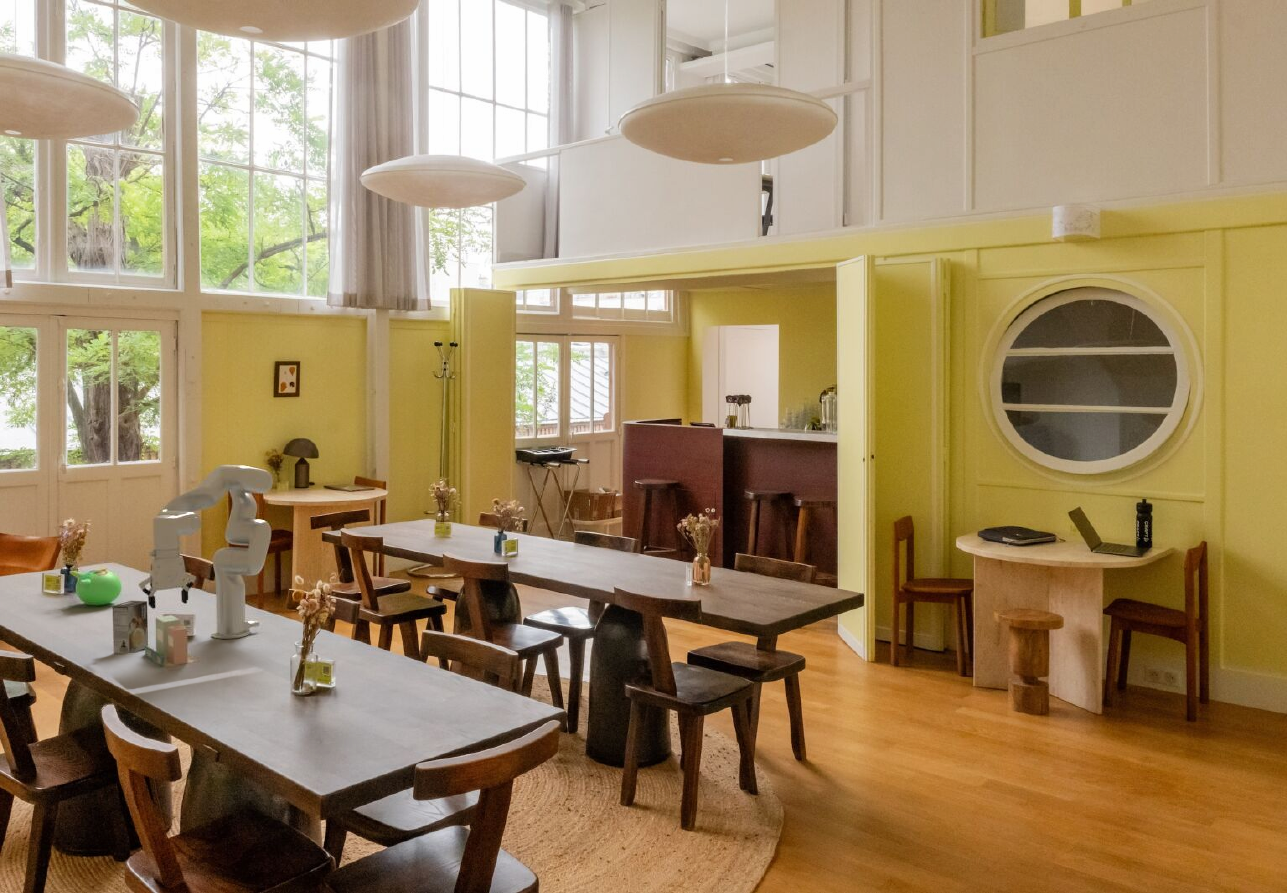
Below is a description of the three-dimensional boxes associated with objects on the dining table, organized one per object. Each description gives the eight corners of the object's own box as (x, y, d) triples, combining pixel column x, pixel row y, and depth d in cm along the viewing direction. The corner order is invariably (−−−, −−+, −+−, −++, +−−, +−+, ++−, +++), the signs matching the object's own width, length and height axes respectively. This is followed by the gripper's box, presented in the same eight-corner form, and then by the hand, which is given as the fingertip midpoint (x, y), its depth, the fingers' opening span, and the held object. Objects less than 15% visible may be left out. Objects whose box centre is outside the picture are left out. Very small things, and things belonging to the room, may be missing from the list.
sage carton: (180, 656, 320) (180, 619, 319) (163, 658, 316) (163, 622, 316) (172, 651, 326) (171, 615, 325) (155, 653, 322) (155, 617, 321)
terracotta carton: (181, 658, 317) (181, 624, 316) (187, 662, 313) (187, 628, 312) (167, 660, 314) (167, 626, 314) (173, 664, 310) (173, 630, 309)
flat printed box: (180, 653, 328) (180, 640, 328) (199, 665, 315) (198, 651, 315) (144, 659, 321) (144, 645, 321) (162, 671, 308) (161, 657, 307)
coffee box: (132, 646, 336) (131, 599, 335) (148, 647, 335) (148, 601, 334) (112, 653, 327) (111, 605, 326) (129, 654, 326) (128, 606, 325)
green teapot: (128, 605, 396) (127, 569, 395) (81, 611, 384) (81, 574, 383) (112, 598, 408) (111, 563, 407) (66, 604, 396) (66, 568, 395)
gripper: (141, 559, 310) (143, 612, 312) (198, 551, 322) (200, 603, 324) (134, 555, 316) (136, 607, 317) (190, 548, 327) (192, 598, 329)
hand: (168, 605), depth 321 cm, fingers open, 9 cm apart
